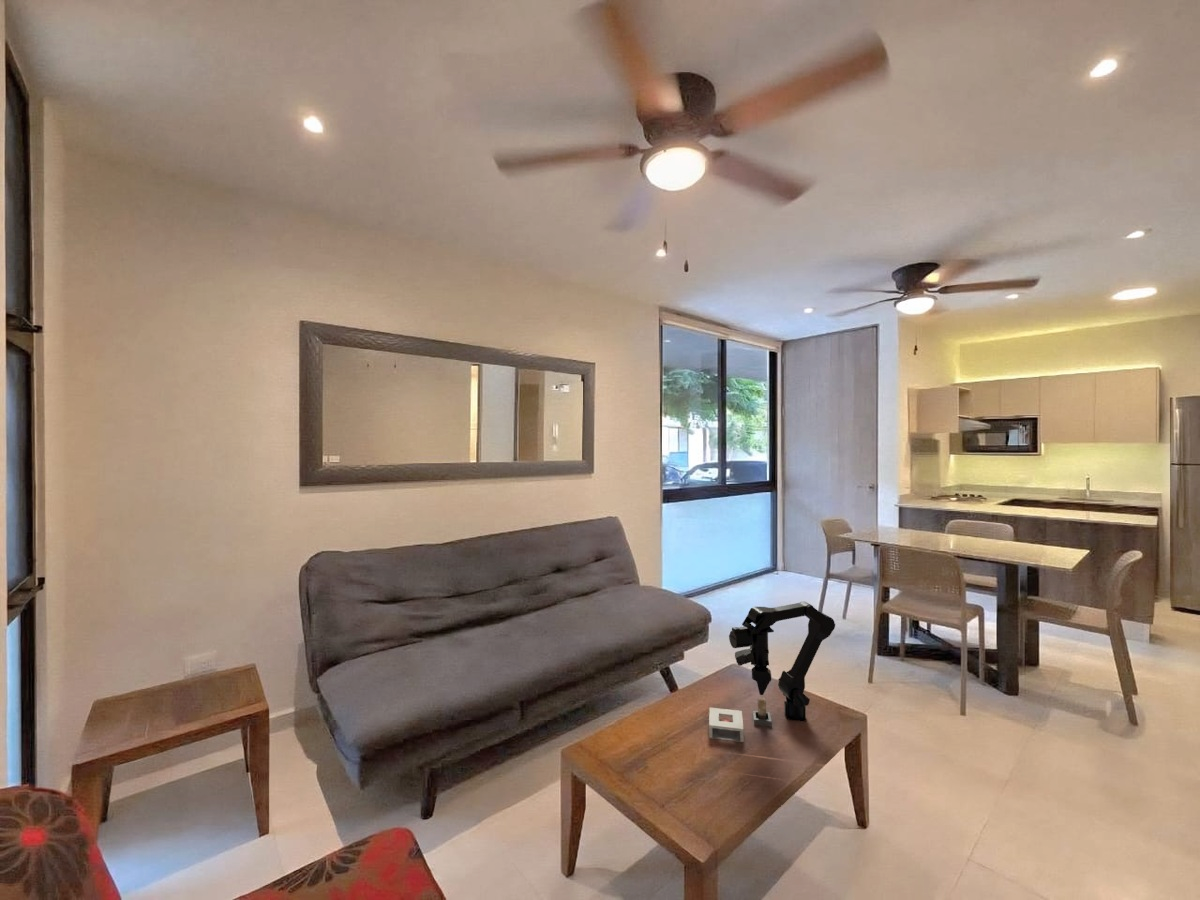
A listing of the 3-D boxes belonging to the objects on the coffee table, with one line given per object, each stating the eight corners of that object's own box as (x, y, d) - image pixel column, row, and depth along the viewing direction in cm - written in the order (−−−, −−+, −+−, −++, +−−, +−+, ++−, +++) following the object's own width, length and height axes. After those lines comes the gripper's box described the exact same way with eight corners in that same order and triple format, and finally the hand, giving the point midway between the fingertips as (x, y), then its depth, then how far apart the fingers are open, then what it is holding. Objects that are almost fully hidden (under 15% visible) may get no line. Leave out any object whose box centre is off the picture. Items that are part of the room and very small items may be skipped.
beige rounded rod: (765, 719, 176) (765, 698, 175) (766, 723, 173) (766, 702, 173) (757, 718, 176) (757, 697, 176) (758, 722, 173) (758, 701, 173)
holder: (770, 718, 177) (770, 712, 177) (771, 727, 171) (771, 721, 171) (752, 716, 178) (752, 710, 178) (753, 725, 172) (753, 719, 172)
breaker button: (730, 724, 170) (730, 719, 170) (730, 729, 167) (730, 723, 167) (721, 723, 171) (721, 718, 171) (721, 728, 168) (721, 722, 168)
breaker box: (741, 724, 173) (741, 710, 173) (743, 743, 163) (743, 729, 162) (709, 720, 176) (709, 707, 176) (709, 739, 165) (709, 725, 165)
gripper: (735, 632, 185) (736, 673, 186) (736, 654, 167) (737, 699, 168) (766, 634, 182) (767, 676, 183) (771, 656, 164) (771, 703, 165)
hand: (760, 688), depth 175 cm, fingers open, 9 cm apart
